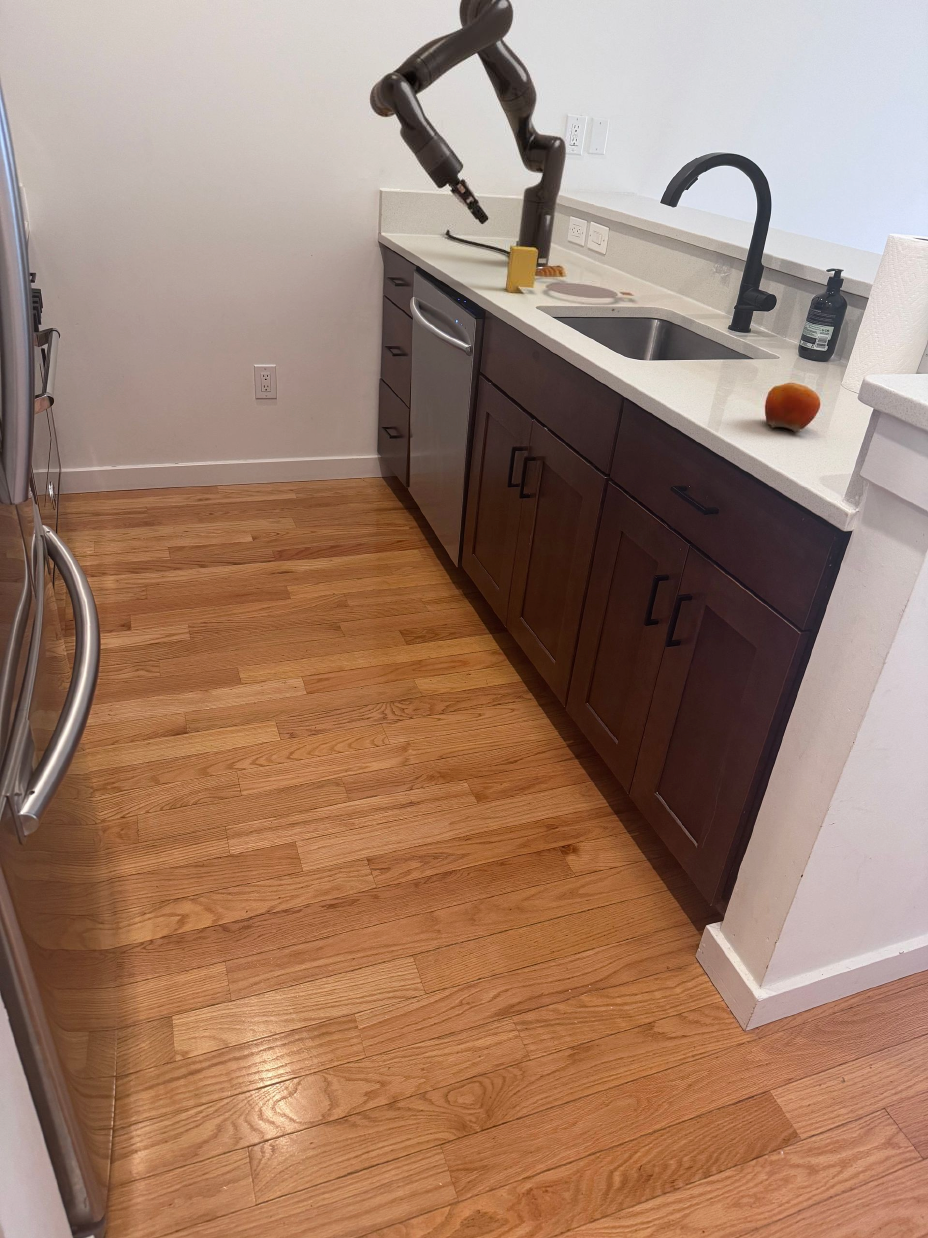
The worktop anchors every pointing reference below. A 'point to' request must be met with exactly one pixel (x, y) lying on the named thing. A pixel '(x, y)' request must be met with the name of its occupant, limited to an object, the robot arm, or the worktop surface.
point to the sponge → (521, 268)
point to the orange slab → (626, 293)
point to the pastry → (551, 271)
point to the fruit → (791, 406)
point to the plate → (581, 290)
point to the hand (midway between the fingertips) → (482, 219)
